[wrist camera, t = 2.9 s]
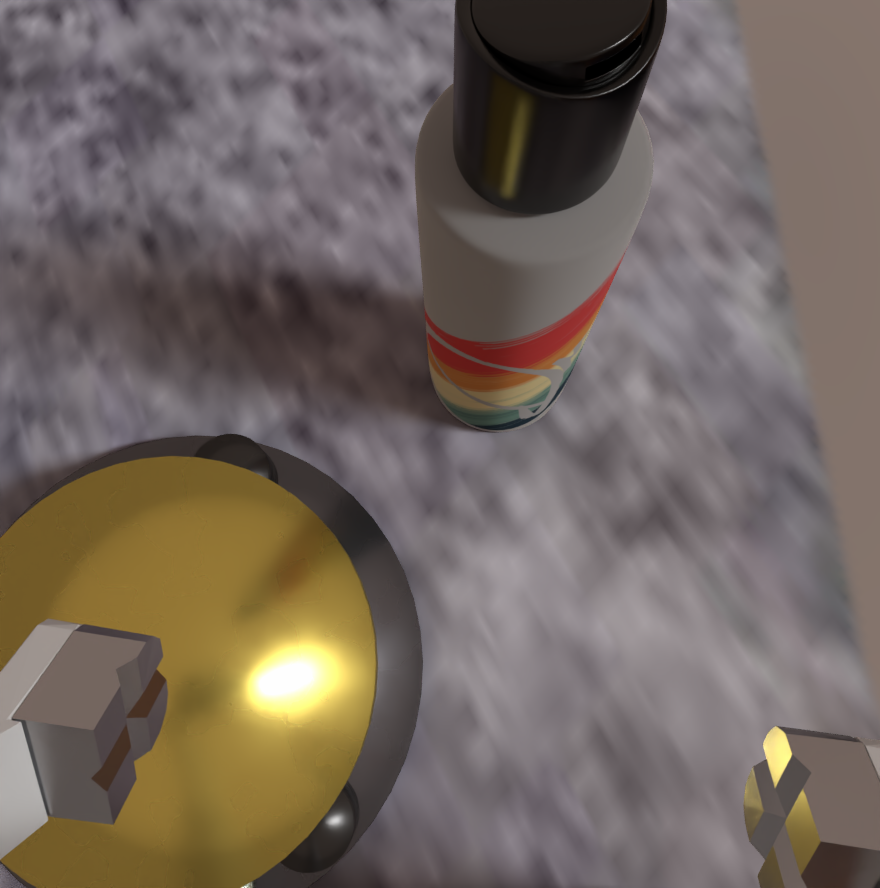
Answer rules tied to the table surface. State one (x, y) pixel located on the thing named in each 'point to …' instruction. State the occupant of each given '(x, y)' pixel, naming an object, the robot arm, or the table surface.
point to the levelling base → (225, 660)
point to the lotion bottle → (530, 195)
